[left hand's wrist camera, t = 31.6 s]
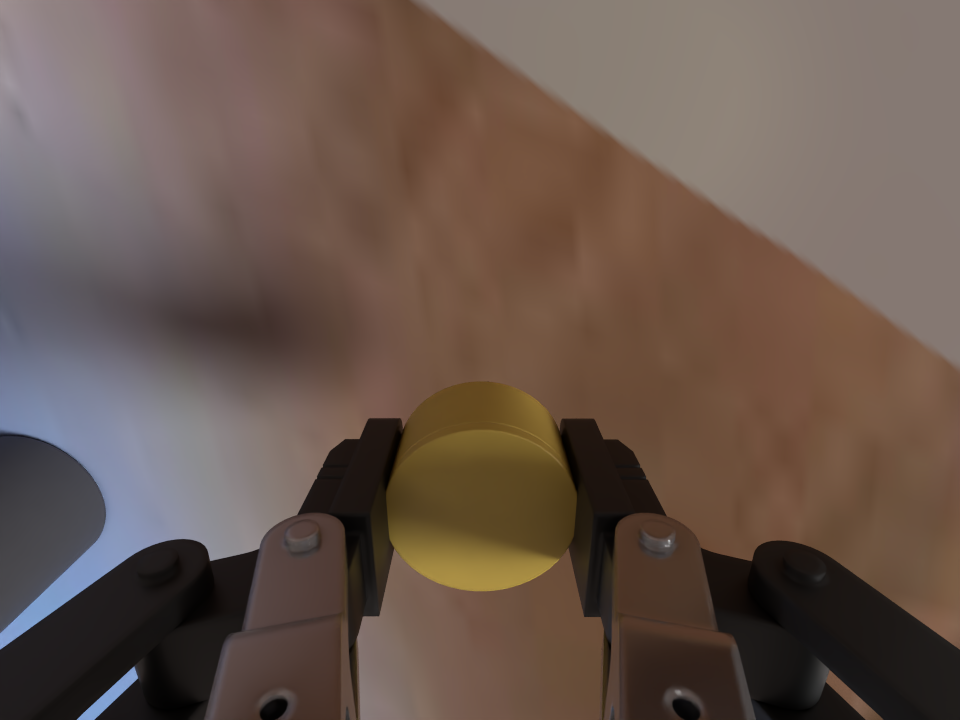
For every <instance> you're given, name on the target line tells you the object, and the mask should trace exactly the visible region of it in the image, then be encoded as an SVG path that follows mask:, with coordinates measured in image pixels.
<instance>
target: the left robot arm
mask: <svg viewBox="0 0 960 720" xmlns="http://www.w3.org/2000/svg"><path fill="white" fill-rule="evenodd" d="M402 431H403V427H402V421H401V419H400V418H369V419H368V421H367V423H366V425H365V428H364V430H363V432H362V435H361V437H360V439H345V440H344V441H342V442H341V443H340V444H339V445H337V446H336V447H335V448H333V449H332V450H331V451H330V452H329V454H328V456H327V458H326V460H325V462H324V464H323V468H321V470H320V472H319V474H318V476H317V479H315V481H314V483H313V485H312V487H311V489H310V491H309V493H308V495H307V497H306V499H305V501H304V503H303V505H302V507H301V509H300V511H299V513H298V515H296V516H293V517H290V518H288V519H285V520H284V521H282V522H280V523H278V524H277V525H275V526H274V527H273V528H271V529H270V530H269V531H268V532H267V533H266V535H265V536H264V537H263V539H262V541H261V544H260V548H259V549H258V550H255V551H252V552H248V553H245V554H240V555H236V556H231V557H227V558H222V559H218V560H213V561H210V559H209V555H208V551H207V549H206V547H205V546H204V545H203V544H201V543H200V542H197V541H194V540H188V539H177V540H170V541H165V542H161V543H158V544H155V545H152V546H150V547H147V548H145V549H143V550H141V551H139V552H137V553H135V554H134V555H132V556H131V557H129V558H128V559H126V560H125V561H124V562H122V563H121V564H119V565H118V566H117V567H115V568H114V569H112V570H111V571H110V572H108V573H107V574H105V575H104V576H103V577H101V578H100V579H98V580H97V581H96V582H94V583H93V584H91V585H90V586H89V587H87V588H86V589H84V590H83V591H82V592H80V593H79V594H77V595H76V596H75V597H73V598H72V599H70V600H69V601H68V602H66V603H65V604H63V605H62V606H61V607H59V608H58V609H57V610H55V611H54V612H52V613H51V614H50V615H48V616H47V617H45V618H44V619H43V620H41V621H40V622H38V623H37V624H36V625H34V626H33V627H31V628H30V629H29V630H27V631H26V632H24V633H23V634H22V635H20V636H19V637H17V638H16V639H15V640H13V641H12V642H10V643H9V644H8V645H6V646H5V647H3V648H2V649H1V650H0V720H77V719H78V718H79V717H80V716H81V715H82V714H83V713H84V712H85V711H86V710H87V709H88V708H89V707H90V706H91V705H92V704H94V703H95V702H96V701H97V700H98V699H99V698H100V697H101V696H102V695H103V694H104V693H105V692H107V691H108V690H109V689H110V688H111V687H112V686H113V685H114V684H115V683H116V682H117V681H119V680H120V679H121V678H122V677H123V676H124V675H125V674H126V673H127V672H128V671H129V670H130V669H132V668H133V667H135V670H136V673H137V676H138V679H137V680H136V681H135V682H134V683H133V684H132V685H131V686H130V687H129V688H127V689H126V690H125V691H124V692H123V693H122V694H121V695H120V696H119V697H118V698H117V699H116V700H115V701H114V702H113V703H112V704H111V705H110V706H109V707H107V708H106V709H105V710H104V711H103V712H102V713H101V714H100V715H99V716H98V717H97V718H96V719H95V720H360V694H359V659H358V643H357V636H358V633H359V629H360V625H361V621H362V617H363V616H379V615H380V610H381V606H382V601H383V596H384V592H385V587H386V583H387V578H388V574H389V569H390V565H391V560H392V556H393V551H394V547H393V545H392V543H391V541H390V539H389V528H388V515H387V503H386V487H387V484H388V480H389V477H390V473H391V470H392V466H393V463H394V459H395V455H396V452H397V448H398V445H399V441H400V438H401V434H402ZM560 434H561V437H562V441H563V444H564V448H565V451H566V455H567V458H568V462H569V465H570V469H571V472H572V476H573V479H574V483H575V486H576V490H577V504H576V516H575V528H574V537H573V540H572V542H571V544H570V545H569V552H570V556H571V561H572V565H573V569H574V574H575V578H576V583H577V587H578V591H579V596H580V600H581V605H582V609H583V613H584V617H601V619H602V623H603V627H604V634H603V643H602V659H601V694H600V720H865V719H864V718H863V717H862V716H861V715H860V714H859V713H858V712H857V711H856V710H855V709H854V708H853V707H851V706H850V705H849V704H848V703H847V702H846V701H845V700H844V699H843V698H842V697H841V696H840V695H839V694H838V693H837V692H836V691H835V690H834V689H833V688H831V687H830V686H829V685H828V684H827V683H826V679H827V676H828V673H829V670H831V671H832V672H833V673H834V674H835V675H836V676H837V677H838V678H839V679H840V680H841V681H843V682H844V683H845V684H846V685H847V686H848V687H849V688H850V689H851V690H852V691H853V692H855V693H856V694H857V695H858V696H859V697H860V698H861V699H862V700H863V701H864V702H865V703H866V704H868V705H869V706H870V707H871V708H872V709H873V710H874V711H875V712H876V713H877V714H878V715H880V716H881V717H882V718H883V719H884V720H960V650H959V649H958V648H957V647H955V646H954V645H952V644H951V643H950V642H948V641H947V640H945V639H944V638H943V637H941V636H940V635H938V634H937V633H936V632H934V631H933V630H931V629H930V628H929V627H927V626H926V625H924V624H923V623H922V622H920V621H919V620H917V619H916V618H915V617H913V616H912V615H910V614H909V613H908V612H906V611H905V610H903V609H902V608H901V607H899V606H898V605H897V604H895V603H894V602H892V601H891V600H890V599H888V598H887V597H885V596H884V595H883V594H881V593H880V592H878V591H877V590H876V589H874V588H873V587H871V586H870V585H869V584H867V583H866V582H864V581H863V580H862V579H860V578H859V577H857V576H856V575H855V574H853V573H852V572H850V571H849V570H848V569H846V568H845V567H843V566H842V565H841V564H839V563H838V562H836V561H835V560H834V559H832V558H831V557H829V556H827V555H826V554H824V553H822V552H820V551H818V550H816V549H814V548H811V547H809V546H806V545H803V544H799V543H795V542H789V541H770V542H766V543H763V544H761V545H760V546H758V547H757V549H756V550H755V552H754V556H753V560H752V561H748V560H743V559H739V558H734V557H730V556H725V555H721V554H717V553H713V552H710V551H708V550H705V549H702V548H700V544H699V541H698V539H697V537H696V536H695V534H694V533H693V532H692V531H691V530H690V529H689V528H687V527H686V526H685V525H683V524H682V523H680V522H678V521H676V520H675V519H672V518H670V517H667V516H666V514H665V512H664V510H663V508H662V506H661V504H660V502H659V500H658V499H657V497H656V495H655V493H654V491H653V489H652V487H651V485H650V483H649V481H648V480H646V476H645V474H644V472H643V470H642V468H640V464H639V462H638V460H637V458H636V456H635V455H634V453H633V451H632V450H630V449H629V448H628V447H627V446H625V445H624V444H623V443H621V442H620V441H619V440H603V437H602V435H601V433H600V431H599V428H598V426H597V424H596V422H595V420H594V419H562V420H561V424H560Z"/></svg>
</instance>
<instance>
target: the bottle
mask: <svg viewBox="0 0 960 720" xmlns="http://www.w3.org/2000/svg"><path fill="white" fill-rule="evenodd" d="M105 518H106V509H105V503H104V499H103V497H102V494H101V491H100V490H99V488H98V486H97V484H96V482H95V481H94V479H93V478H92V477H91V475H90V474H89V473H88V472H87V471H86V470H85V469H84V468H83V467H82V466H81V465H80V464H79V463H78V462H77V461H76V460H74V459H73V458H72V457H71V456H69V455H68V454H66V453H64V452H63V451H61V450H59V449H58V448H56V447H54V446H52V445H49V444H47V443H44V442H42V441H38V440H35V439H32V438H26V437H20V436H0V633H1V632H2V631H3V630H4V629H5V628H6V627H7V626H8V625H9V624H10V623H11V622H12V621H13V620H15V619H16V618H17V617H18V616H19V615H20V614H21V613H22V612H23V611H24V610H25V609H26V608H27V607H28V606H29V605H30V604H31V603H32V602H33V601H34V600H35V599H36V598H37V597H39V596H40V595H41V594H42V593H43V592H44V591H45V590H46V589H47V588H48V587H49V586H50V585H51V584H52V583H53V582H54V581H55V580H56V579H57V578H58V577H59V576H60V575H62V574H63V573H64V572H65V571H66V570H67V569H68V568H69V567H70V566H71V565H72V564H73V563H74V562H75V561H76V560H77V559H78V558H79V557H80V556H81V555H82V554H83V553H84V552H86V551H87V550H88V549H89V548H90V547H91V546H92V545H93V544H94V543H95V542H96V540H97V539H98V538H99V536H100V535H101V533H102V531H103V528H104V524H105Z"/></svg>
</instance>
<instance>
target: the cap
mask: <svg viewBox="0 0 960 720" xmlns="http://www.w3.org/2000/svg"><path fill="white" fill-rule="evenodd" d="M386 503H387V515H388V528H389V539H390V541H391V543H392V545H393V547H394V548H395V550H396V551H397V553H398V554H399V555H400V556H401V558H402V559H403V560H404V561H405V562H406V563H407V564H408V565H409V566H410V567H412V568H413V569H414V570H416V571H417V572H418V573H420V574H422V575H423V576H425V577H427V578H428V579H430V580H433V581H435V582H437V583H439V584H442V585H445V586H448V587H452V588H457V589H461V590H469V591H493V590H501V589H506V588H510V587H514V586H517V585H520V584H523V583H525V582H527V581H530V580H532V579H534V578H536V577H537V576H539V575H541V574H542V573H544V572H545V571H547V570H548V569H549V568H551V567H552V566H553V565H554V564H555V563H556V562H557V561H558V560H559V559H560V558H561V557H562V555H563V554H564V553H565V552H566V550H567V549H568V547H569V545H570V544H571V542H572V540H573V537H574V528H575V516H576V504H577V490H576V486H575V483H574V479H573V476H572V472H571V469H570V465H569V462H568V458H567V455H566V451H565V448H564V444H563V441H562V437H561V434H560V431H559V429H558V426H557V424H556V423H555V421H554V419H553V417H552V416H551V415H550V413H549V412H548V411H547V409H546V408H545V407H544V406H542V405H541V404H540V403H539V402H538V401H537V400H536V399H534V398H533V397H531V396H530V395H528V394H526V393H525V392H523V391H521V390H519V389H516V388H514V387H511V386H508V385H504V384H500V383H494V382H468V383H462V384H458V385H454V386H451V387H448V388H446V389H443V390H441V391H439V392H437V393H435V394H434V395H432V396H431V397H429V398H428V399H426V400H425V401H424V402H423V403H422V404H421V405H419V406H418V407H417V408H416V410H415V411H414V412H413V413H412V414H411V416H410V417H409V419H408V421H407V422H406V424H405V426H404V429H403V431H402V434H401V438H400V441H399V445H398V448H397V452H396V455H395V459H394V463H393V466H392V470H391V473H390V477H389V480H388V484H387V487H386Z"/></svg>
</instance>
